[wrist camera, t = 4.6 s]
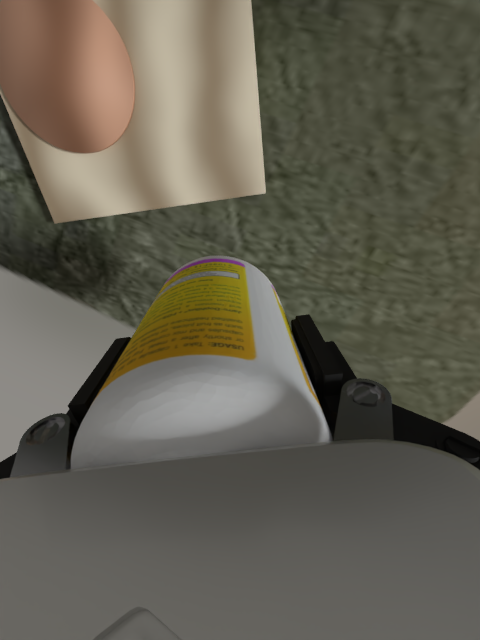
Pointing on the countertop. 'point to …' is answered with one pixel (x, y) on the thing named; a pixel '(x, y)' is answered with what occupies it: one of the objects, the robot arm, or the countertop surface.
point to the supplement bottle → (204, 374)
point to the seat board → (133, 101)
